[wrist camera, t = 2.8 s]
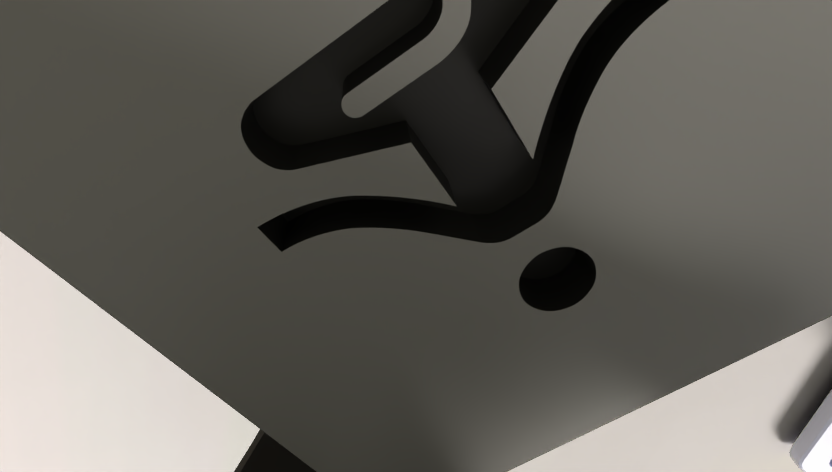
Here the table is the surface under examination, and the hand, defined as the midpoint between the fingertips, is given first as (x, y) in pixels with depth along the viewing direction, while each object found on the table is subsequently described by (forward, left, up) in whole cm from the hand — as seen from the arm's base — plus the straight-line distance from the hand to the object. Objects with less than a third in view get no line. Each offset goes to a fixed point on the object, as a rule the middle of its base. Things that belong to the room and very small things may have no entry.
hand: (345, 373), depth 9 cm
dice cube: (-1, -5, -1) cm, 6 cm away
